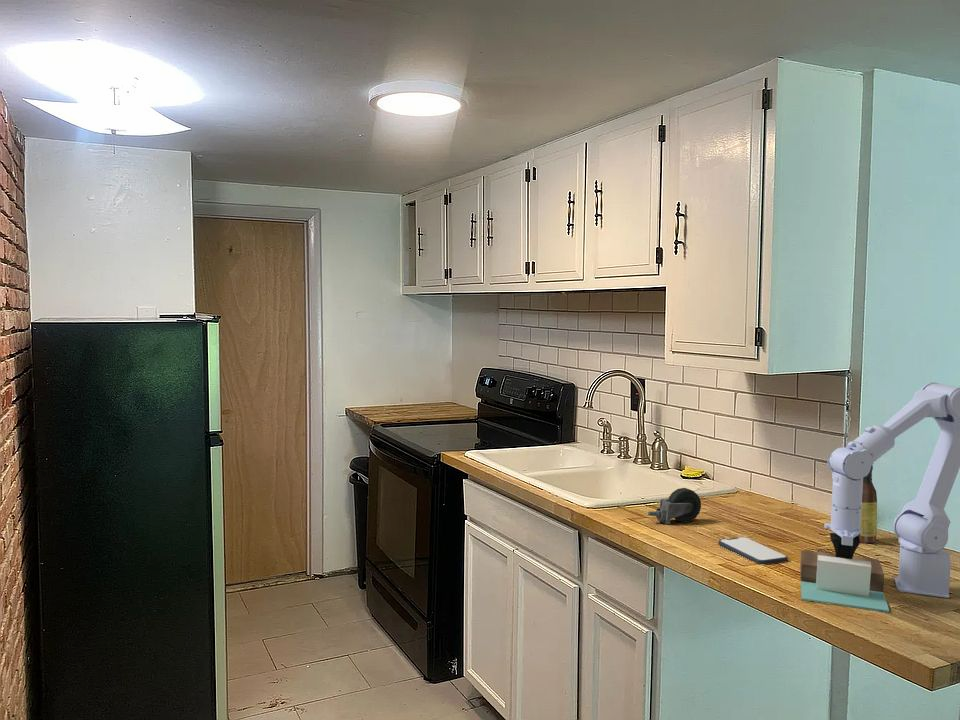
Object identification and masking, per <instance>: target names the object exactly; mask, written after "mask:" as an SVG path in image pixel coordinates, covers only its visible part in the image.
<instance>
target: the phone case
mask: <svg viewBox="0 0 960 720" xmlns="http://www.w3.org/2000/svg"><path fill="white" fill-rule="evenodd" d="M719 545H720V546H719ZM718 546H719V547H721V546H722V547H721V548H723V547H724V548H723V549H725V548H726V549H725V550H727V549H728V550H727V551H729V550H730V551H729V552H731V551H732V552H731V553H733V552H735V553H737V554H739V555H738V556H740V555H741V556H740V557H742V556H743V557H742V558H744V557H745V559H746V558H747V559H746V560H748V559H749V560H748V561H750V560H751V561H750V562H752V561H754V562H756V563H755V564H757V563H758V564H757V565H760V564H767V565H773V564H772V563H774V564H779V563H778V562H782V563H786V562H785V561H787V562H788V560H789V557H788V556H787V555H786V554H783V553H781V552H779V551H777V550H774V549H772V548H770V547H768V546H766V545H764V544H761V543H759V542H758V541H754V540H753V539H750V538H749V537H744V536H739V537H738V536H737V537H731V538H724V539H723V538H722V539H719V540H718ZM735 553H734V554H735ZM737 554H736V555H737ZM754 562H753V563H754Z"/></svg>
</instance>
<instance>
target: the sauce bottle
mask: <svg viewBox="0 0 960 720" xmlns="http://www.w3.org/2000/svg"><path fill="white" fill-rule="evenodd" d="M873 465H874V464H873ZM873 465H872V466H871V469H870V472H869V474H868V475H867V476H865V477H863V492H862V510H861V529H862V530H861V533H860V534H859V538H860V543H862V544H873V543H876V541H877V536H878V498H877V497H878V496H877V495H878V494H877V490H876V488H875V486H874V483H873V470H874V466H873Z"/></svg>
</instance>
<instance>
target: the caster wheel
mask: <svg viewBox="0 0 960 720" xmlns="http://www.w3.org/2000/svg"><path fill="white" fill-rule="evenodd" d="M659 500H660V501H659V507H657V508H656V510H655V511H651V510H650V511H648V512H647V515H648V516H651V517H655V518H656V520H657V522H658V521H659V522H662V523H663V524H665V525H670V524H671V520H673V519H674V520H676V521H678V522H680V523H688V522H691V521H693V520H695V519H696V518H697V517H698V516H699V514H700V513H701V508H702V501H701V498H700V496H699V494H697V493H696V492H695V491H694V490H692V489H689V488H686V487H682V488H681V487H680V488H677V489H674V491H672V493H670V495H669V497H668V498H665V499H664V498H661V499H659Z"/></svg>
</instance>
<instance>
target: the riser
mask: <svg viewBox="0 0 960 720" xmlns="http://www.w3.org/2000/svg"><path fill="white" fill-rule="evenodd" d="M818 555H822V556H830V557H836V554H835V553H828V552H821V551H812V550H805V549H804V550H803V549H801V550H800V563H799V564H800V566H799V569H800V570H799V572H801V573H800V582H801V581H803V582H811V583H816V576H817V560H818ZM852 559H854V560H862V561H870V562H871V577H870V589H869V590H870V591H877V592H884V583H885V573H884V570H883V568H882V565H881V562H880V559H879V558H870V557H862V556H854V555H853V558H852Z"/></svg>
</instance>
